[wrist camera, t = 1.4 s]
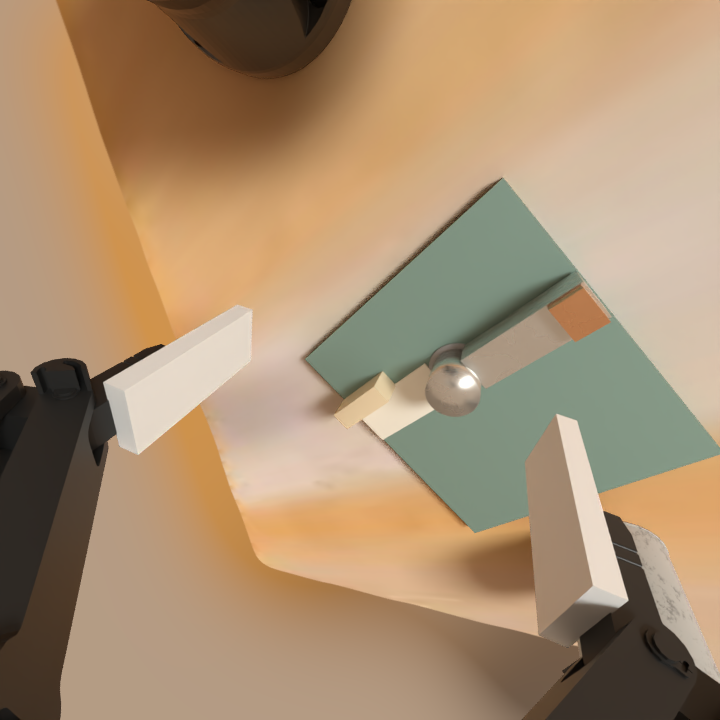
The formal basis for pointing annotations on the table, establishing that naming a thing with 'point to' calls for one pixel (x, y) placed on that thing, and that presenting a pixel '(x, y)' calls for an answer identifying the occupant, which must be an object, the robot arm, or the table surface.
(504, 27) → the table surface
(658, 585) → the speckled grey cylinder
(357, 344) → the board
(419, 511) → the table surface
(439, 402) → the bar
